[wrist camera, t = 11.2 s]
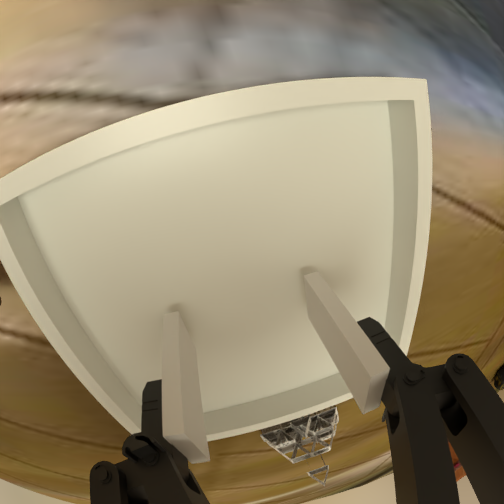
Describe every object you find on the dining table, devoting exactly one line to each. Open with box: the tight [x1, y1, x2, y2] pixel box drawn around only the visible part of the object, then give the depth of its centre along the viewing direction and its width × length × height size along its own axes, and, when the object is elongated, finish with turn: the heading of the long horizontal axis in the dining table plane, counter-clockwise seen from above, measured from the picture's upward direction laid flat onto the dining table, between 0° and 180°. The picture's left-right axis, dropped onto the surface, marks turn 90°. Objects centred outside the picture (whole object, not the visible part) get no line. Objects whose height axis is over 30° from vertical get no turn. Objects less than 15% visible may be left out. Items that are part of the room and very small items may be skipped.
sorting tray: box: [0, 77, 432, 441], centre depth 15 cm, size 20×20×3 cm
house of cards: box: [260, 405, 339, 486], centre depth 20 cm, size 9×9×8 cm
